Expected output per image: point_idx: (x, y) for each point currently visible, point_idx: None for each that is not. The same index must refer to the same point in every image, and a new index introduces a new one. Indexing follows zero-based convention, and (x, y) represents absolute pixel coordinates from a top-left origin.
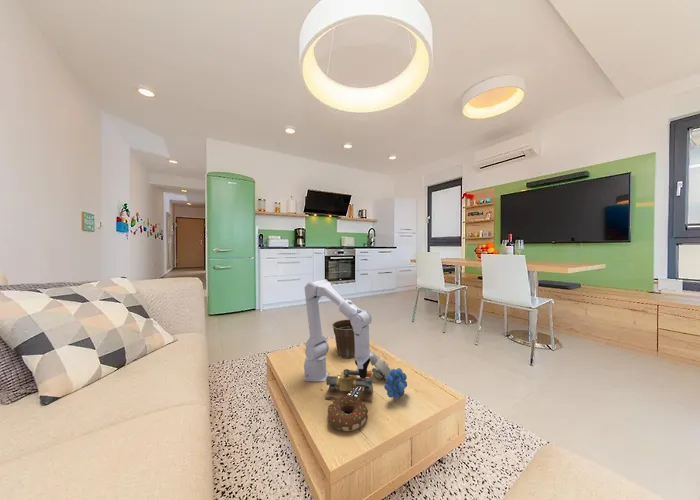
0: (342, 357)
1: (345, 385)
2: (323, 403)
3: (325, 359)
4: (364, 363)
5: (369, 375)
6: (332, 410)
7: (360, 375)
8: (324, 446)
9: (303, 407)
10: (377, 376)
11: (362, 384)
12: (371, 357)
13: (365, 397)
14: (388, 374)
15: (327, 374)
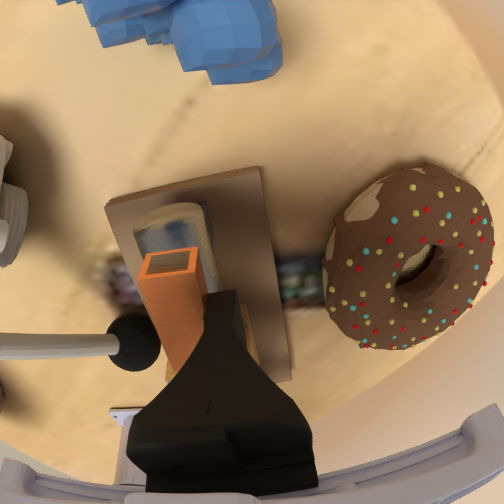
0: (1, 387)
1: (256, 359)
2: (314, 364)
3: (133, 477)
4: (311, 447)
5: (201, 274)
6: (446, 326)
7: (246, 345)
8: (497, 271)
9: (342, 396)
10: (23, 208)
11: (220, 278)
12: (260, 502)
13: (250, 214)
14: (201, 23)
15: (130, 411)
